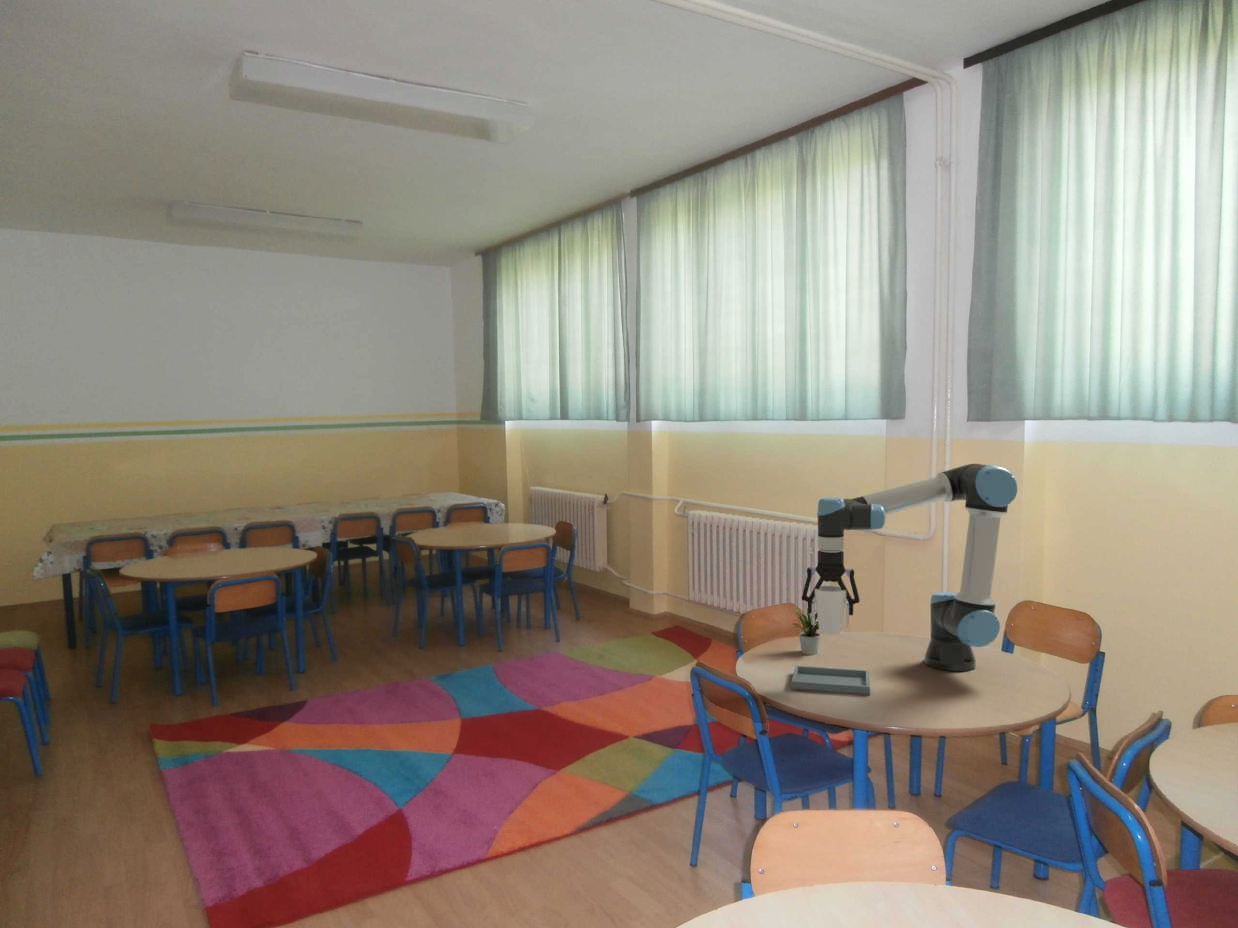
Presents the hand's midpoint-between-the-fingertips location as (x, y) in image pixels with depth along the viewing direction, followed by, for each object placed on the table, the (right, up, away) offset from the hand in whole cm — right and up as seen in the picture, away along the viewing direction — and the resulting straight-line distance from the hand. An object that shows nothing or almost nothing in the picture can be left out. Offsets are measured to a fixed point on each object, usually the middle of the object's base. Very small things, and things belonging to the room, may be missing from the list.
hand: (830, 624), depth 249 cm
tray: (0, -18, 0) cm, 18 cm away
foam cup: (0, -2, 0) cm, 2 cm away
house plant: (0, -16, +33) cm, 36 cm away
